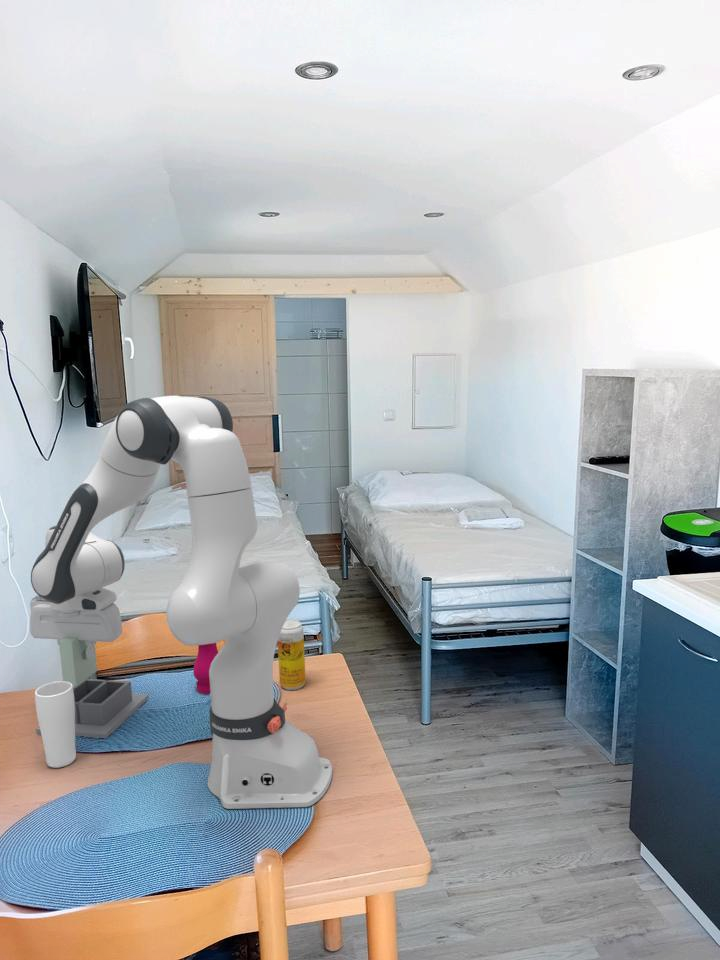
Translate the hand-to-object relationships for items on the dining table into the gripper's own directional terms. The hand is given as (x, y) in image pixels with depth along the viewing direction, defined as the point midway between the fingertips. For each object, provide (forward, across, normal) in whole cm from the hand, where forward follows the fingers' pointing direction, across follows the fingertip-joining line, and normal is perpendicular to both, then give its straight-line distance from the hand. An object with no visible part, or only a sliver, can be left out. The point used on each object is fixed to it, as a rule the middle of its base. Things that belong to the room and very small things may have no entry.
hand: (78, 658), depth 153 cm
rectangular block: (+5, 0, 0) cm, 5 cm away
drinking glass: (+13, +7, -18) cm, 23 cm away
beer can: (+13, +42, +20) cm, 48 cm away
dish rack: (+13, +3, 0) cm, 13 cm away
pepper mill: (+13, +23, +16) cm, 31 cm away
